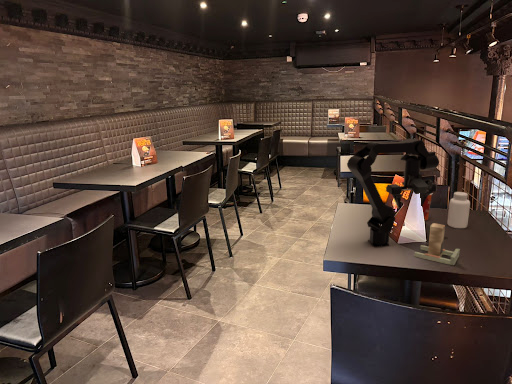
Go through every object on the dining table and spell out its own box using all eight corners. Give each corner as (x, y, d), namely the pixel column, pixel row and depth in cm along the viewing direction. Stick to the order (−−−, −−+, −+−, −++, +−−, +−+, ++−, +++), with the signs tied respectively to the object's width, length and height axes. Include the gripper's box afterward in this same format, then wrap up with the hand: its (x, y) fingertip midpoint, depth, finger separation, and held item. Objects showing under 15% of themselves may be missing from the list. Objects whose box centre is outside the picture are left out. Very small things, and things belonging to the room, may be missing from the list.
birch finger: (427, 256, 136) (430, 226, 133) (430, 253, 139) (433, 223, 136) (440, 259, 134) (443, 228, 130) (442, 255, 137) (445, 225, 133)
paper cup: (432, 221, 171) (434, 192, 167) (414, 221, 173) (416, 192, 169) (428, 216, 178) (430, 188, 175) (411, 215, 180) (413, 187, 176)
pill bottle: (466, 229, 160) (470, 196, 156) (446, 227, 164) (449, 194, 160) (467, 224, 166) (471, 192, 162) (448, 221, 170) (451, 190, 166)
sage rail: (414, 256, 137) (414, 249, 136) (421, 248, 143) (421, 241, 142) (453, 265, 129) (454, 257, 128) (458, 256, 135) (459, 249, 134)
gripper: (399, 177, 137) (397, 216, 142) (446, 173, 139) (443, 212, 143) (386, 170, 148) (384, 207, 152) (430, 167, 150) (427, 204, 154)
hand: (409, 208), depth 150 cm, fingers open, 9 cm apart
